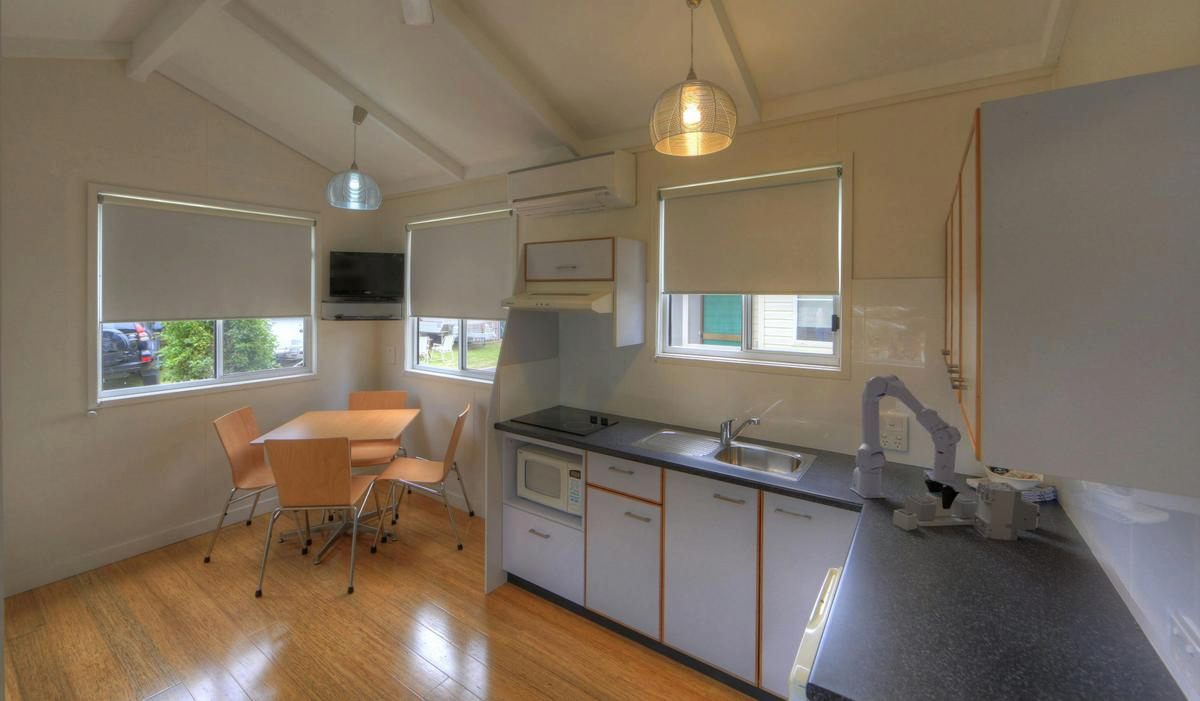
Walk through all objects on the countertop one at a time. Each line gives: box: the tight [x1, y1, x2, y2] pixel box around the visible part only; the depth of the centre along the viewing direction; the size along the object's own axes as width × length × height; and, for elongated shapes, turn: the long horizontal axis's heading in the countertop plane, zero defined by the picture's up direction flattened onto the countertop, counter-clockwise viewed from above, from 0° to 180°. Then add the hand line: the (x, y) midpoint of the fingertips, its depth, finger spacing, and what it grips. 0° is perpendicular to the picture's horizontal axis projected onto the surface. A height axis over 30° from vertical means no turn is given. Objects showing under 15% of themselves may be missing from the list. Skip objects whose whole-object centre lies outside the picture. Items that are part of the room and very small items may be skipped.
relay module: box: [924, 492, 953, 517], centre depth 168 cm, size 4×6×6 cm
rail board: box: [904, 494, 978, 527], centre depth 168 cm, size 9×20×7 cm, turn 96°
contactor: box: [892, 508, 918, 531], centre depth 163 cm, size 5×4×5 cm
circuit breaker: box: [972, 480, 1040, 542], centre depth 157 cm, size 8×14×15 cm, turn 78°
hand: (940, 505), depth 168 cm, fingers closed on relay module, 4 cm apart
